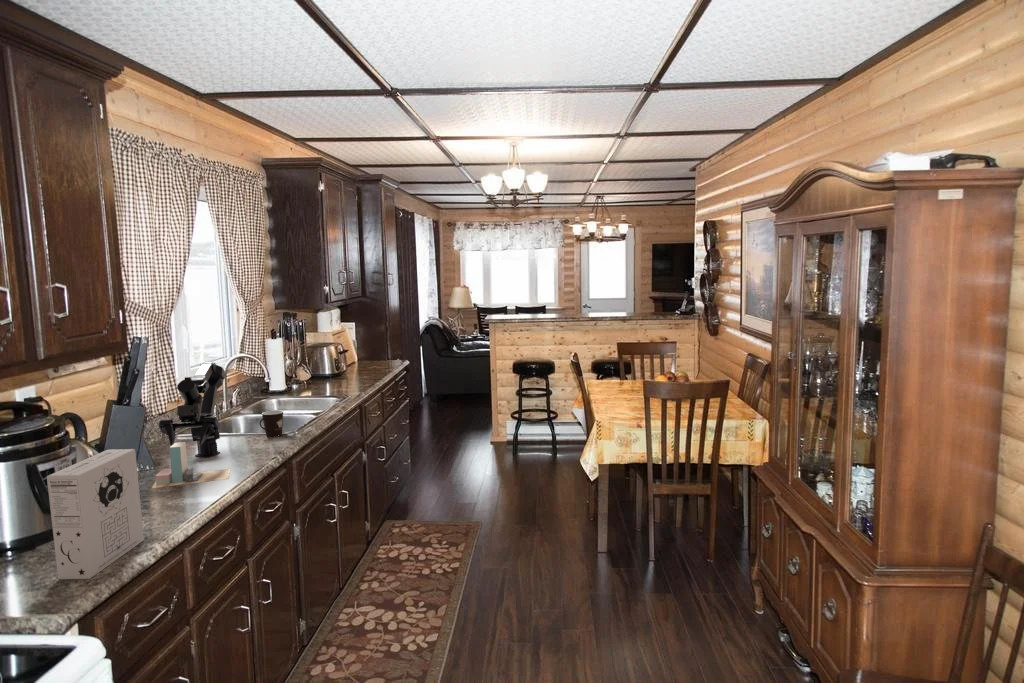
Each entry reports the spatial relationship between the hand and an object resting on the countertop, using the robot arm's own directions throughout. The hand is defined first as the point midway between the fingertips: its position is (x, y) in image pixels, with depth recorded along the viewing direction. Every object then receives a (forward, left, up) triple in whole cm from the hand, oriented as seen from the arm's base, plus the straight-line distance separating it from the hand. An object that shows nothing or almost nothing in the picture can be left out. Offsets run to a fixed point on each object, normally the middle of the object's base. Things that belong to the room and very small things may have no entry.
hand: (185, 446), depth 226 cm
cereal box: (+32, -58, -11) cm, 67 cm away
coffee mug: (-8, +52, -11) cm, 54 cm away
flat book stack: (0, -9, -9) cm, 13 cm away
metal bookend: (+8, -5, -9) cm, 13 cm away
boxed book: (+4, -7, -9) cm, 12 cm away
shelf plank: (+7, -5, -10) cm, 13 cm away
